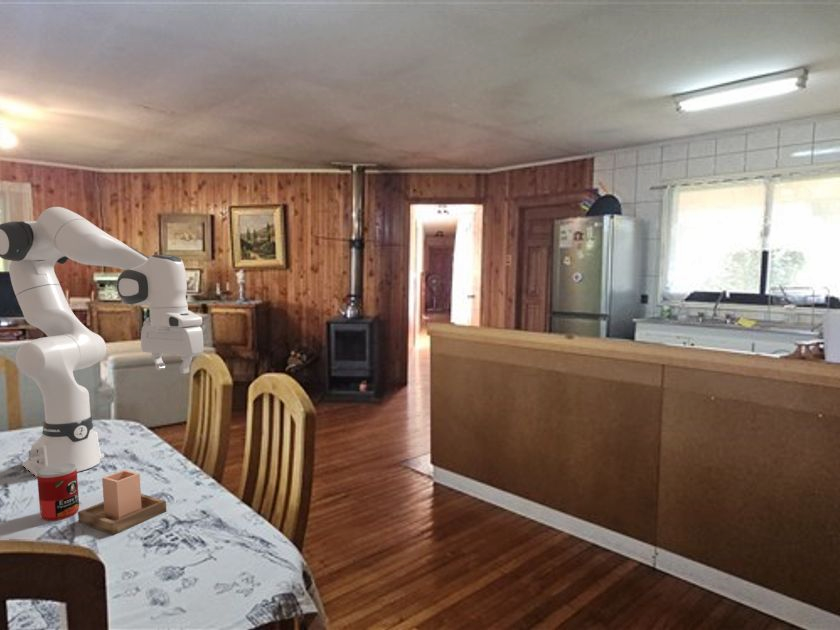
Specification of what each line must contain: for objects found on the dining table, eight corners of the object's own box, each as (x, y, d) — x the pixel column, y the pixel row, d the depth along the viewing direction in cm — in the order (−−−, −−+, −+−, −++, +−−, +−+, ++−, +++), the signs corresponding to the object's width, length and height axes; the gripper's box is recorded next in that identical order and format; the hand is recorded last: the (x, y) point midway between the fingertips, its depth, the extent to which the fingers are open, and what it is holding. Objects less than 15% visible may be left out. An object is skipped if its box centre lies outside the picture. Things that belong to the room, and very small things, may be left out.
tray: (78, 522, 123) (77, 511, 123) (132, 500, 134) (131, 490, 134) (113, 535, 117) (112, 524, 117) (166, 511, 128) (165, 501, 128)
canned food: (60, 522, 123) (57, 476, 122) (31, 519, 125) (28, 473, 124) (87, 508, 130) (84, 463, 129) (59, 505, 132) (56, 461, 131)
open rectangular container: (104, 515, 124) (102, 477, 124) (127, 506, 129) (125, 469, 128) (119, 520, 122) (116, 482, 121) (141, 510, 127) (139, 473, 126)
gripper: (132, 317, 140) (135, 370, 141) (185, 320, 130) (188, 376, 132) (154, 315, 146) (157, 366, 147) (206, 318, 136) (209, 372, 137)
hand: (172, 371), depth 139 cm, fingers open, 8 cm apart
